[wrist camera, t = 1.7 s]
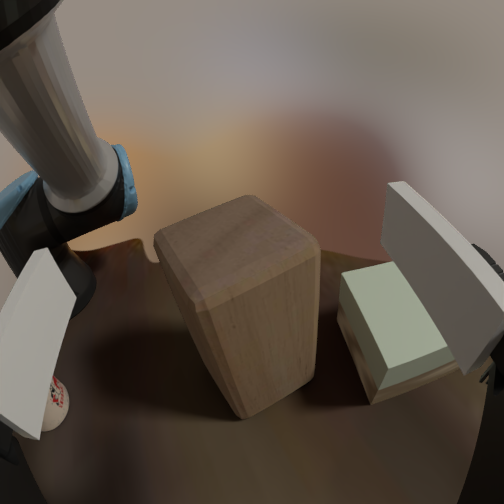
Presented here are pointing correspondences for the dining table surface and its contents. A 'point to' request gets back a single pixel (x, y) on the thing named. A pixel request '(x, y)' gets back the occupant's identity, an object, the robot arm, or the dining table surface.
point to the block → (246, 298)
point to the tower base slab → (366, 376)
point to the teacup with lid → (55, 405)
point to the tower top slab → (391, 325)
